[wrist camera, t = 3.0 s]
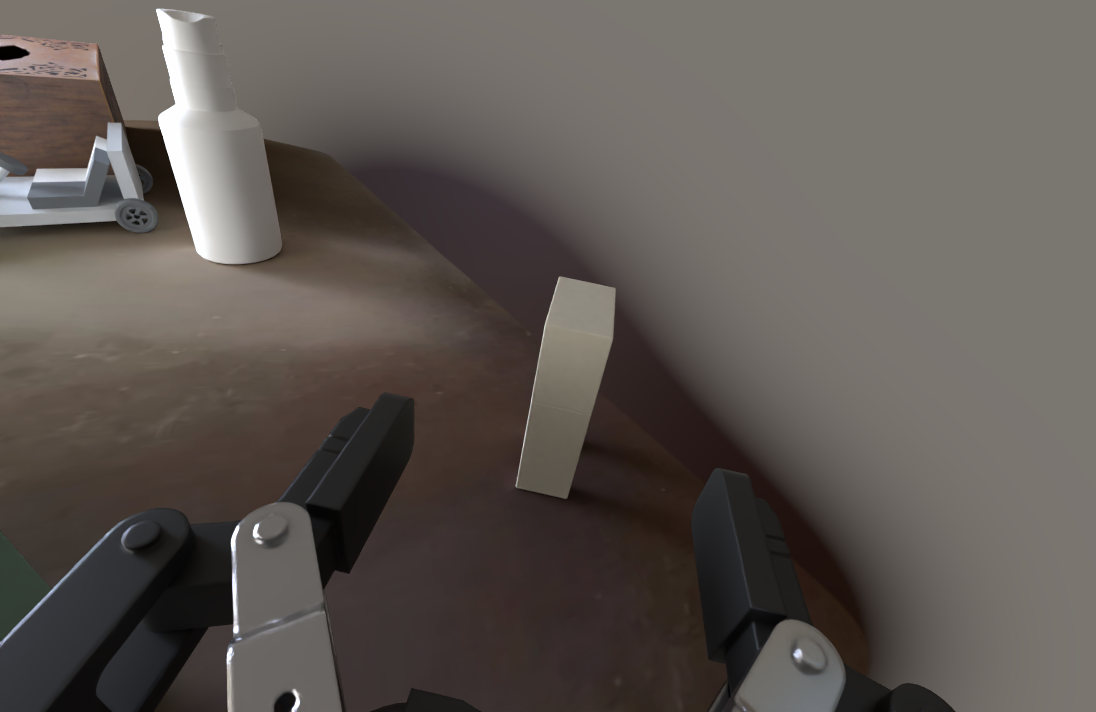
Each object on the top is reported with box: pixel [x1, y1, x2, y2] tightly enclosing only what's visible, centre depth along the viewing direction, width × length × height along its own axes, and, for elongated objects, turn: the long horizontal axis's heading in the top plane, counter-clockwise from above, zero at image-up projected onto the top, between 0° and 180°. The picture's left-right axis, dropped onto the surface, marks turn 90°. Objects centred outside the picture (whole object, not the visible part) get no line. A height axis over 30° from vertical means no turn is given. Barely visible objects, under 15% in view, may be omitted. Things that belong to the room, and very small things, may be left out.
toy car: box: [0, 122, 158, 233], centre depth 40 cm, size 18×10×12 cm
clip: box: [516, 277, 616, 499], centre depth 25 cm, size 5×3×11 cm, turn 172°
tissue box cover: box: [0, 35, 128, 177], centre depth 53 cm, size 26×14×10 cm, turn 37°
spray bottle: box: [156, 9, 282, 264], centre depth 38 cm, size 7×7×18 cm
